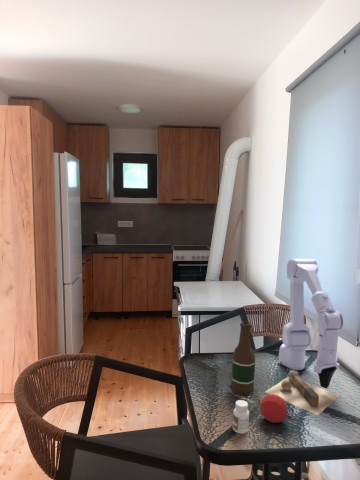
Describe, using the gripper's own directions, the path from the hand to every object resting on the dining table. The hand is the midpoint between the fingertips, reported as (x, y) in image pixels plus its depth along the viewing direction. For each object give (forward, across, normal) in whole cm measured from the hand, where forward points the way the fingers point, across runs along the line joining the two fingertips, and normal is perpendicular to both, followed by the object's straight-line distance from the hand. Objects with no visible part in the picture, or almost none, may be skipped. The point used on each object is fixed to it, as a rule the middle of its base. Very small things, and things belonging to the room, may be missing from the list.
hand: (324, 386), depth 119 cm
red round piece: (+4, -24, +5) cm, 25 cm away
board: (+4, -6, +5) cm, 8 cm away
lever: (+2, -5, +5) cm, 7 cm away
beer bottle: (+4, -17, +21) cm, 27 cm away
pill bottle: (+4, -35, +9) cm, 37 cm away
